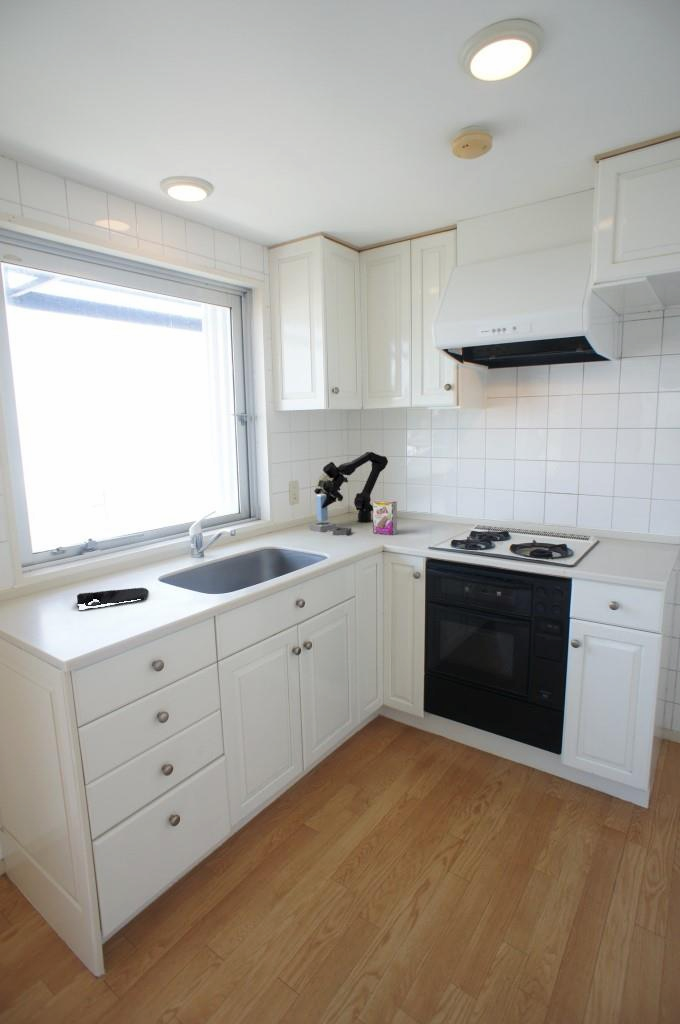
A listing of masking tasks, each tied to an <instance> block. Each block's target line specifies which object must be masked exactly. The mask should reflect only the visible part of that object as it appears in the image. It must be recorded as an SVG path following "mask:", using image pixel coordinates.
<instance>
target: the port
mask: <svg viewBox="0 0 680 1024" xmlns="http://www.w3.org/2000/svg"><path fill="white" fill-rule="evenodd" d="M308 526H309V528H308V529H310V531H313V530H314V531H313V532H317V531H318V532H317V533H324V531H325V532H329V531H328V530H331V531H333V529H336V528H337V524H336V523H335V522H334V523H333V522H330V521H317V522H313V523H309V525H308Z"/></svg>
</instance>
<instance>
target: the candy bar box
mask: <svg viewBox="0 0 680 1024" xmlns="http://www.w3.org/2000/svg"><path fill="white" fill-rule="evenodd" d="M397 504H398V503H397V501H396V500H385V499H384V500H383V499H375V500H372V506H373V511H372V520H373V521H372V528H373V529H372V532H373V534H377V533H380V534H379V535H387V534H390V535H389V536H394V535H396V534H398V516H397V515H398V512H397V509H398V507H397ZM393 534H394V535H393Z"/></svg>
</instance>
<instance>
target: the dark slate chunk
mask: <svg viewBox="0 0 680 1024" xmlns="http://www.w3.org/2000/svg"><path fill="white" fill-rule="evenodd" d="M149 592H150V591H149V589H147V588H146V587H134V588H133V587H132V588H125V589H113V590H112V589H111V590H102V591H95V592H83V593H82V592H81V593H78V594H77V595H76V600H77V603H76V604H84V603H85V605H86V606H93V605H101V604H107V603H119V602H124V601H131V600H137V599H142V600H144V599H143V598H145V599H146V598H147V597H148V594H149ZM93 599H97V600H99V602H100V603H94V604H92V605H88V603H89V602H91V601H93Z"/></svg>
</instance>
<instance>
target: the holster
mask: <svg viewBox="0 0 680 1024" xmlns="http://www.w3.org/2000/svg"><path fill="white" fill-rule="evenodd" d="M348 534H349V535H351V534H352V528H351V527H341V526H340V527H336V529H334V530H332V536H339V535H347V536H349V535H348Z"/></svg>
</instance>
